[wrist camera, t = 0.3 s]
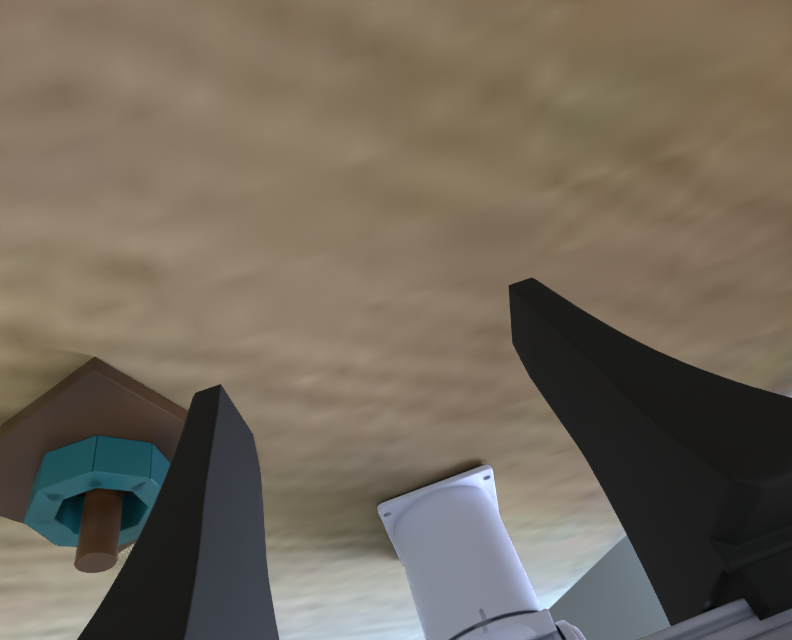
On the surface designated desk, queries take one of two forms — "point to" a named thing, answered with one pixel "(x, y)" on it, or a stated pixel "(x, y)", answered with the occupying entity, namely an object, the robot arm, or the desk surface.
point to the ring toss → (75, 421)
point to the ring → (94, 485)
